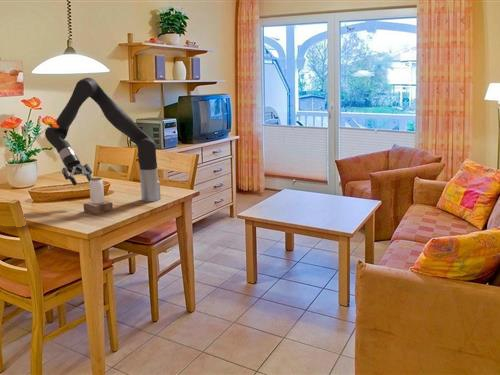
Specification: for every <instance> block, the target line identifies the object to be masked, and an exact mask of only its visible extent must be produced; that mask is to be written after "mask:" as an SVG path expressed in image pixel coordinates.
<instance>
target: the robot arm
mask: <svg viewBox="0 0 500 375" xmlns="http://www.w3.org/2000/svg"><path fill="white" fill-rule="evenodd" d="M88 98H91V100H92V101H93V102H95V103H96V104H97V105H98V107H99V108H100V109H101V112H102V113H103V116H104V117H105V119H106V120H107V121H108V122H109V123H110V124H111V125H112V126H113V127H114V128H115V129H117V130H118V131H119V132H121V133H122V134H124V135H125V136H127V137H128V139H131V141H132V142H133V143H134V144H135V145H136V146H137V158H138V166H139V178H140V180H139V181H140V192H141V194H140V195H141V201H142V202H147V203H149V202H156V201H159V200H161V183H160V181H159V176H158V174H159V173H158V160H157V151H156V150H157V143H156V141H155V140H154V139H153V138H152V137H150V136H149V135H148V134H147V133H145V132H144V130H142V129H141V128H140V127H139V126H138V124H137V123H136V122H135V121H134V120H133V119H132V118H131V116H129V115H128V114H127V112H125V111H124V109H123V108H121V107H120V106H119V105H118V103H116V101H114V100H113V99H112V98H111V97H110V95H108V94H107V92H105V91H104V89H103V88H102V87H101V86H100V85H99V83H98V82H97V81H96V80H95V79H94V78H92V77H84V78H82V79H80V80H78V81H77V82H76V84H75V87H74V89H73V92H72V94H71V95H70V98H69V100H68V101H67V103H66V104H65V106H64V108H63V109H62V111H61V113H60V114H58V115H59V116H58V117H57V118H56V121H55V122H56V125H57V126H58V127H54V126H49V127H47V128H46V129H45V131H44V136H45V138H46V140H47V142H49V144H51V146H53V148H55V149H56V152H57V153H58V155H59V157H60V160H61V162H62V163H63V165H64V167H62V170H61V174H62V175H63V177H64V178H65V180H69V181H70V182H71V184H72V185H73V186H77V184H78V183H77V181H76V179H75V177H74V176H77V175H82V176H84V177H86V179H87V182H88V183H89V182H90V179H92V176H91V175H92V173H93V171H92V169H91V167H90V166H89V164H88V163H85V164H84V165H83V164H82V163H81V160H80V159H79V157H78V155H77V154H76V152H75V150H74V149H73V148H72V146H71V144H70V143H69V141H67V140H66V138H67V136H68V132H69V129H70V126H71V125H72V124H73V122H74V120H75V119H76V117H77V115H78V113H79V110H80V109H81V107H82V105H83V104H84V103H85V102H86V100H88ZM69 173H70V174H69Z"/></svg>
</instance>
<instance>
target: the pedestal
mask: <svg viewBox="0 0 500 375" xmlns="http://www.w3.org/2000/svg"><path fill="white" fill-rule="evenodd" d="M113 207H114V206H113V202H111V201H107V200H104V203H101V204H92V203H91V201H90V202H85V203H83V212H84V213H88V214H90V215H93V216H98V215H101V214H105V213H109V212H113V211H114V208H113Z"/></svg>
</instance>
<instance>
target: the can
mask: <svg viewBox="0 0 500 375" xmlns="http://www.w3.org/2000/svg"><path fill="white" fill-rule="evenodd" d="M91 178H92V177H91ZM88 184H89V187H88V188H89V194H90V195H89V196H90V202H91V203H92V204H101V203H104V201H105V191H104V190H105V189H104V181H103V180H102V178H101V177H93V178H92V179H90V182H89V181H88Z"/></svg>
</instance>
